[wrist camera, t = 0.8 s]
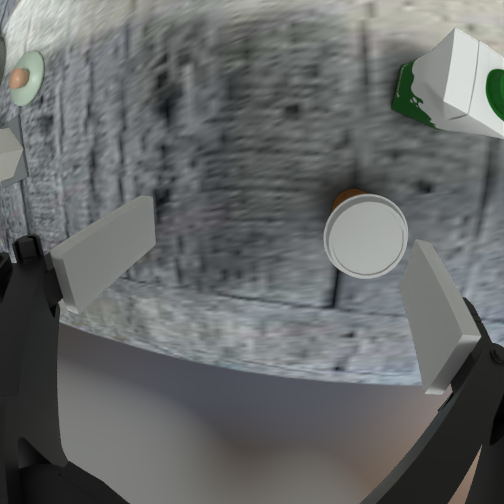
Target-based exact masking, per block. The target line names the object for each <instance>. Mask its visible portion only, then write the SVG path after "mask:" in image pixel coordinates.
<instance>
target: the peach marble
mask: <svg viewBox="0 0 504 504" xmlns="http://www.w3.org/2000/svg"><path fill="white" fill-rule="evenodd" d="M28 80H29V72H28V71H26V69H25V68H15V69H14V70H13V71H12V73H11V75H10V78H9V86H10V88H11V89H19V88H21V87H22V86H24V85H26V84H27V82H28Z"/></svg>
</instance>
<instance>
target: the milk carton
mask: <svg viewBox="0 0 504 504" xmlns="http://www.w3.org/2000/svg"><path fill="white" fill-rule="evenodd" d="M391 109H393V110H395V111H397V112H400V113H402V114H404V115H406V116H408V117H411V118H413V119H415V120H417V121H419V122H422V123H424V124H426V125H428V126H430V127H433V128H435V129H438V130H446V131H456V132H465V133H473V134H480V135H486V136H491V137H496V138H501V139H504V57H502V56H501V55H500V54H498V53H497V52H495V51H494V50H492V49H491V48H490V47H489V46H487V45H486V44H484V43H483V42H481V41H477V40H476V39H474V38H472V37H471V36H469V35H467V34H466V33H464V32H462V31H461V30H459V29H457V28H454V29H453V30H452V31H451V32H450V33H449V34H448V35H447V36H446V37H445V38H444V39H443V40H442V41H441V42H440V43H439V44H438V45H437V46H436V47H435V48H434V49H433V50H432V51H430V52H428V53H426V54H425V55H423V56H421V57H419V58H418V59H416V60H414V61H412V62H409V63H406V64H403V65H401V69H400V73H399V78H398V83H397V87H396V91H395V96H394V100H393V104H392V108H391Z"/></svg>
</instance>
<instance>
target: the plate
mask: <svg viewBox="0 0 504 504" xmlns="http://www.w3.org/2000/svg"><path fill="white" fill-rule="evenodd" d="M15 68H25V69H26V71H28V72H29V80H28V82H27V84H26V85H24V86H22V87H21V88H19V89H11V88H10V91H11V97H12V100H13V101H14V103H15V104H16V105H18V106H25V105H28V104H29V103H31V102H32V101H33V100H34V98H35V97H36V96H37V94H38V92H39V90H40V88H41V85H42V82H43V78H44V72H45V63H44V59H43V56H42V55H41V53H39V52H37V51H30V52H27V53H26V54H24V55H23V56H22V57H21V58H20V60H19V61H18V63H17V65H16V66H15Z"/></svg>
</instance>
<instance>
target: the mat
mask: <svg viewBox="0 0 504 504" xmlns="http://www.w3.org/2000/svg"><path fill="white" fill-rule="evenodd" d="M4 128H10V130H11V131H12V133H13V134H14V136H15V137H16V138H17V140H18V141H19V143H20V144H21V146H22V147H23V151H22V154H21V156H20V159H19V162H18V164H17V167H16V170H15V173H14V176H13V177H11V178H9V179H6V180H3V181H1V183H2V188H5V187H7V186H9V185H11V184H14V183H16V182H18V181H20V180H22V179H24V178H26V177H29V173H28V168H27V163H26V157H25V151H24V145H23V138H22V130H21V122H20V115H17V116H16V117H14V118H13V119H12V120H10V121H9V122H8V123H6V124H5V125H4V126H2V127H1V128H0V129H4Z"/></svg>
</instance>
